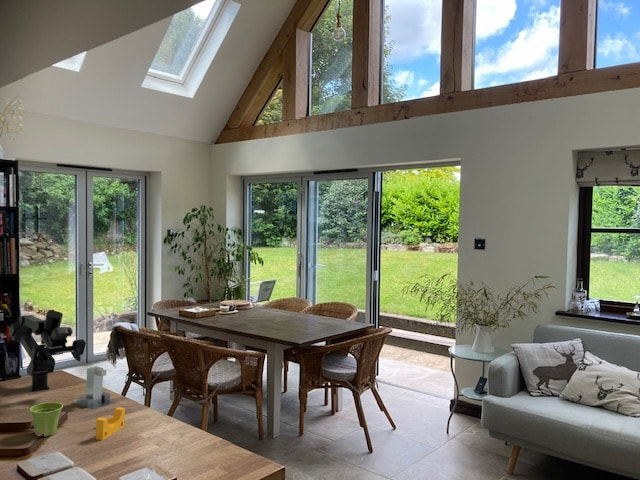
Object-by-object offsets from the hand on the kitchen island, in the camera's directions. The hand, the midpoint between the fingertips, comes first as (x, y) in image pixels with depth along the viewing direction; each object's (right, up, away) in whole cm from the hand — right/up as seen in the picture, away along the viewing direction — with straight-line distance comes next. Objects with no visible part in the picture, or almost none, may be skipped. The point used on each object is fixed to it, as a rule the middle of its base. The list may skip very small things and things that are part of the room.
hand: (67, 362), depth 189 cm
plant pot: (+6, -17, -26) cm, 32 cm away
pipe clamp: (+25, -18, -22) cm, 38 cm away
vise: (+9, -16, +1) cm, 19 cm away
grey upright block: (+11, -16, 0) cm, 19 cm away
